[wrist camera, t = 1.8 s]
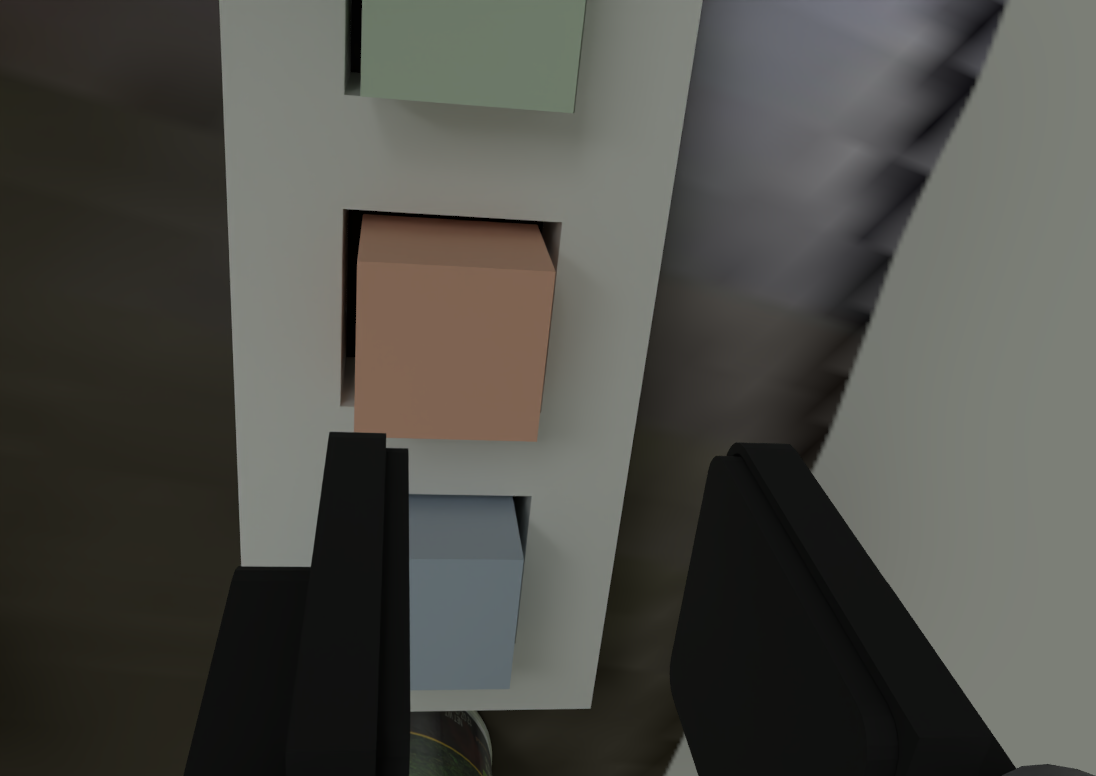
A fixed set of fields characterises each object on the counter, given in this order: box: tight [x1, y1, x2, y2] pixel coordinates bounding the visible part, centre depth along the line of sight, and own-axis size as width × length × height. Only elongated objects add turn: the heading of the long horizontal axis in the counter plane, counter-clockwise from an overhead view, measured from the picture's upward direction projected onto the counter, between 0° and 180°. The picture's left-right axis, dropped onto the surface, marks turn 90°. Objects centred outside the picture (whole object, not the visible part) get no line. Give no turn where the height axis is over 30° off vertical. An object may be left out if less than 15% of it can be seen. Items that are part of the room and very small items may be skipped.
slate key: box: [409, 494, 524, 690], centre depth 32 cm, size 5×5×4 cm
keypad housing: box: [219, 0, 703, 712], centre depth 30 cm, size 30×12×4 cm, turn 174°
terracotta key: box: [354, 214, 556, 442], centre depth 28 cm, size 5×5×4 cm
